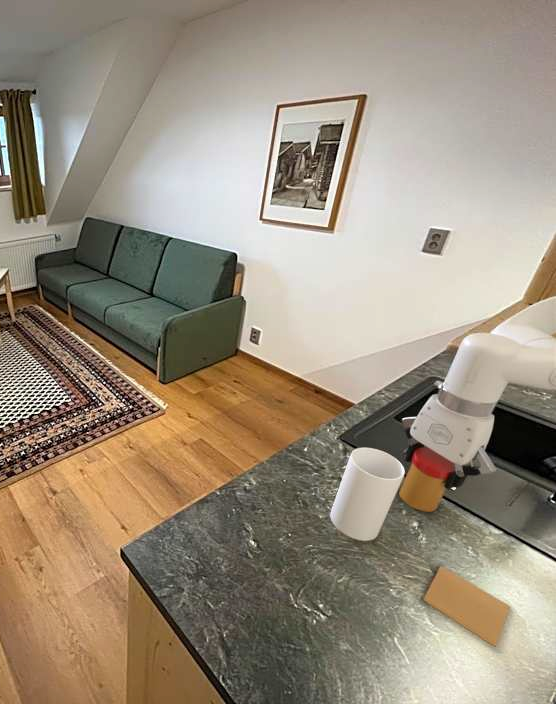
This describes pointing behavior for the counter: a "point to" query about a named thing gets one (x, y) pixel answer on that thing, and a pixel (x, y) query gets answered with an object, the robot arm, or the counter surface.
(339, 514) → the cup
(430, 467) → the lid
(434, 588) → the mat
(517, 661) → the counter surface
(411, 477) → the jar
